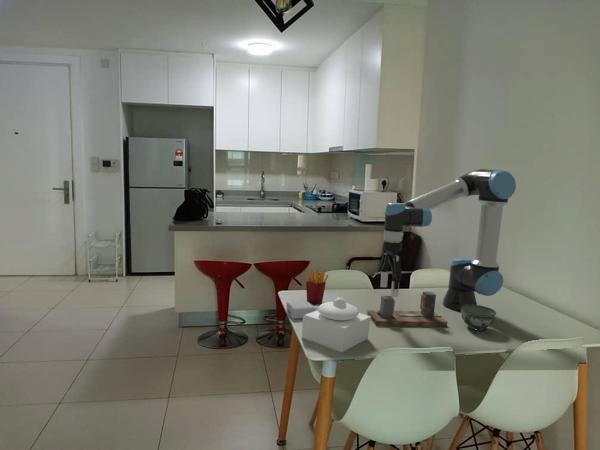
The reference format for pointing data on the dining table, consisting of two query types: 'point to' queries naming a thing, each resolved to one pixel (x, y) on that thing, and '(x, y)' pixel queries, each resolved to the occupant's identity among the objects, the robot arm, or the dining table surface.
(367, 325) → the white lidded jar
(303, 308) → the charger
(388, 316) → the grey orange block
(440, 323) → the brown wooden stand
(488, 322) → the bowl
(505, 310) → the dining table surface
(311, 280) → the french fries
